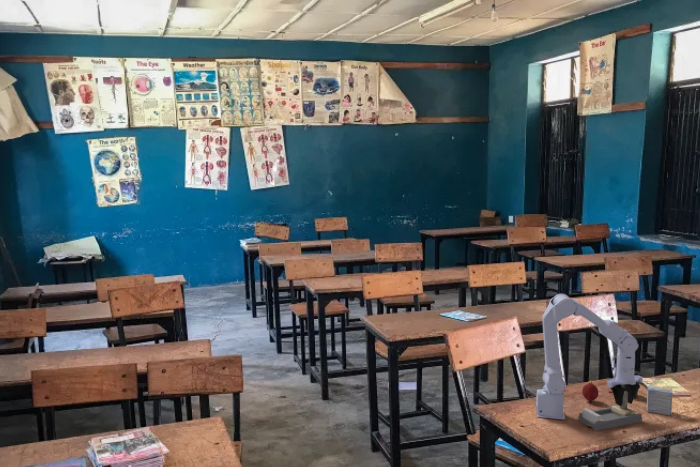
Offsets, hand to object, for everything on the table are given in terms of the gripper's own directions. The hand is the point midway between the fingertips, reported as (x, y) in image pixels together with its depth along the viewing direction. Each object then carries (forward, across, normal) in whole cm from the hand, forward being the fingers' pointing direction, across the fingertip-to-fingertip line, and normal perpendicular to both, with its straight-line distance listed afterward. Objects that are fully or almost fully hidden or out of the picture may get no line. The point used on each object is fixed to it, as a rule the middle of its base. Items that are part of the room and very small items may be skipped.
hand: (623, 403), depth 203 cm
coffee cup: (+6, +19, +15) cm, 25 cm away
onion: (+6, 0, +16) cm, 17 cm away
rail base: (+5, -6, 0) cm, 8 cm away
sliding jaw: (+4, 0, 0) cm, 4 cm away
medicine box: (+6, +17, 0) cm, 18 cm away
